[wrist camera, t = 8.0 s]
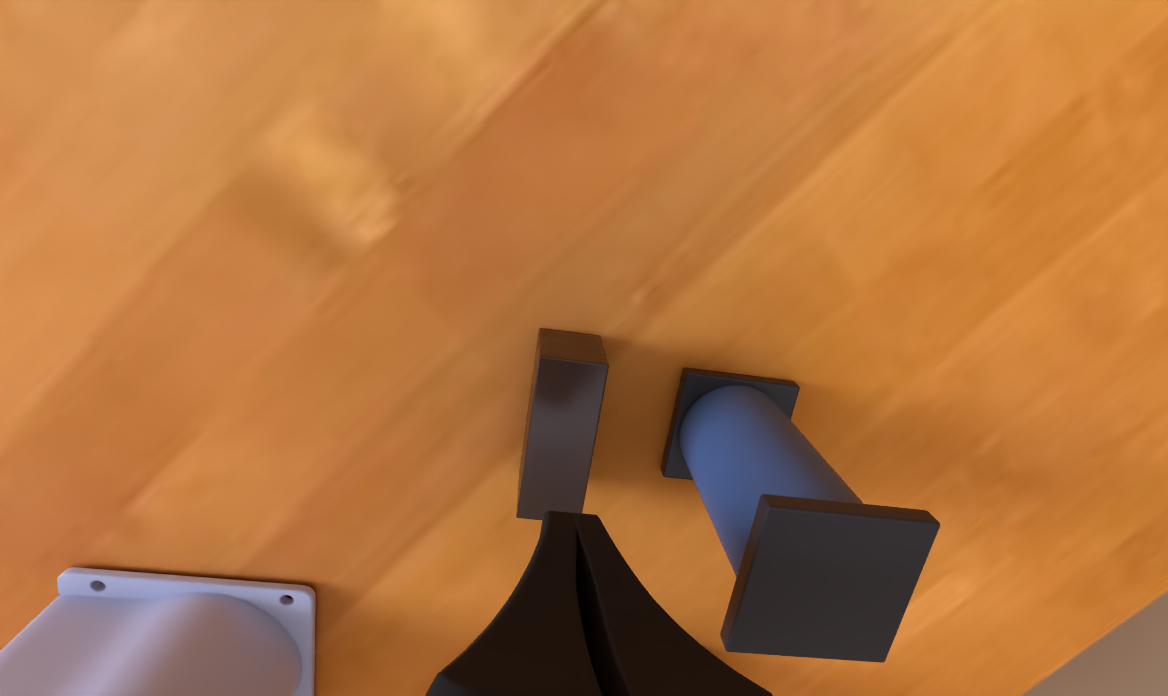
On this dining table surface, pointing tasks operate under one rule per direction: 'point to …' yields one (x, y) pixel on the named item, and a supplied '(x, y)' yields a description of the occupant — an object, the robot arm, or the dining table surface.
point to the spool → (792, 525)
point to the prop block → (561, 422)
